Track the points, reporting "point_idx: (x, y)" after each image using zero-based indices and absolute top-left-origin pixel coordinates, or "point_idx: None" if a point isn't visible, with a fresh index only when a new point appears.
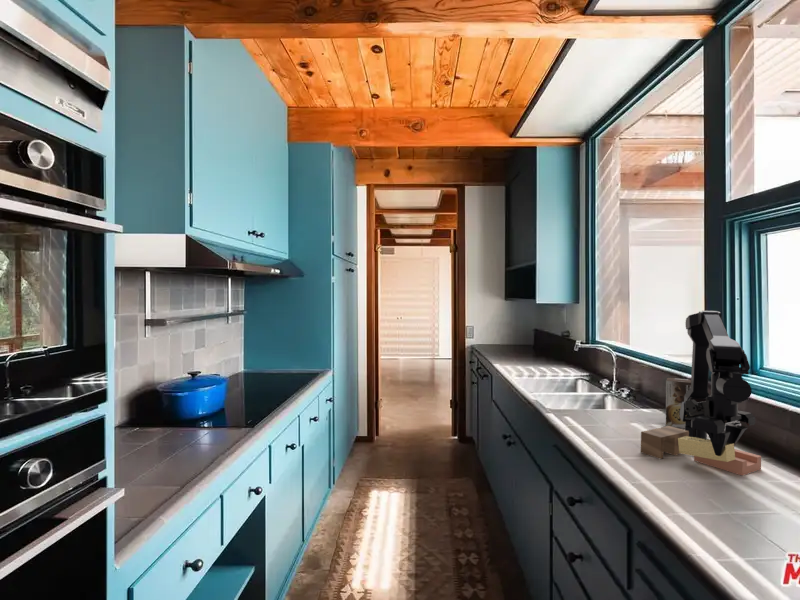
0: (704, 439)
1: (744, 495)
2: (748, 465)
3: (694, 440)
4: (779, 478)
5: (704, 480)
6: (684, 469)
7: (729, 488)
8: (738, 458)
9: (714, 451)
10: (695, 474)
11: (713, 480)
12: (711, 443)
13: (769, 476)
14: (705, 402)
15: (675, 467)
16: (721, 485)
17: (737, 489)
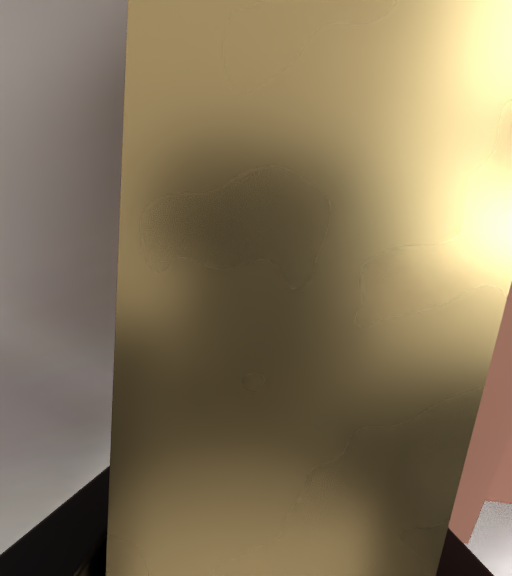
0: (442, 242)
1: (10, 532)
2: (488, 495)
3: (154, 108)
4: (504, 572)
5: (7, 322)
6: (90, 107)
7: (31, 460)
8: (478, 487)
9: (107, 467)
10: (62, 227)
11: (71, 358)
12: (111, 501)
13: (499, 534)
14: None
15: (59, 18)
16: (32, 419)
17: (62, 489)
